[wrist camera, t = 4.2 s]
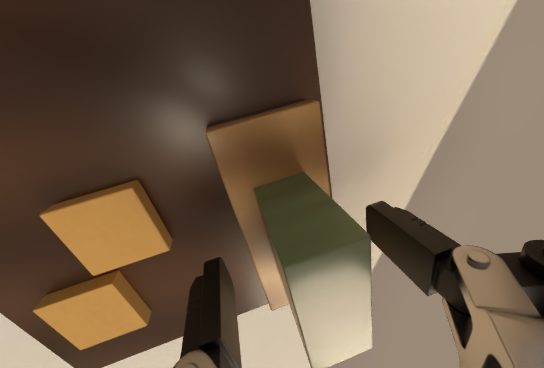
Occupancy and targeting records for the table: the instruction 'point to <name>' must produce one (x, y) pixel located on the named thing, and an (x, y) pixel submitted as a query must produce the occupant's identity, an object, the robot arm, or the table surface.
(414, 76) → the table surface
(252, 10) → the cutting board
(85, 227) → the cracker
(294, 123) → the wooden block stand
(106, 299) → the cracker
